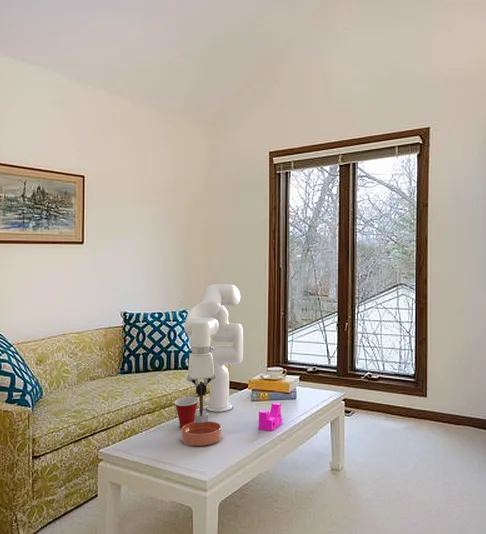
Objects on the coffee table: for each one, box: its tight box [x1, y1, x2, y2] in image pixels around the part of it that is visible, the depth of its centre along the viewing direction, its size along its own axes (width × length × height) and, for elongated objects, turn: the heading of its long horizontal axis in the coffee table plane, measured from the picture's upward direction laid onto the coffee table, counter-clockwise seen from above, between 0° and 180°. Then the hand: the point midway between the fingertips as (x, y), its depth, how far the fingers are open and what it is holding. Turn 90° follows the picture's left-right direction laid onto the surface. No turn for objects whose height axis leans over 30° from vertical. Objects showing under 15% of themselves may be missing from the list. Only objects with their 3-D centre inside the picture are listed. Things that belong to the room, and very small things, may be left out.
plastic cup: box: [173, 396, 200, 429], centre depth 217 cm, size 11×11×12 cm
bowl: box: [180, 420, 222, 447], centre depth 201 cm, size 16×16×5 cm
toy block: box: [258, 402, 283, 432], centre depth 220 cm, size 15×6×8 cm, turn 156°
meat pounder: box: [194, 381, 209, 423], centre depth 201 cm, size 6×6×16 cm
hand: (201, 394), depth 201 cm, fingers closed on meat pounder, 1 cm apart
